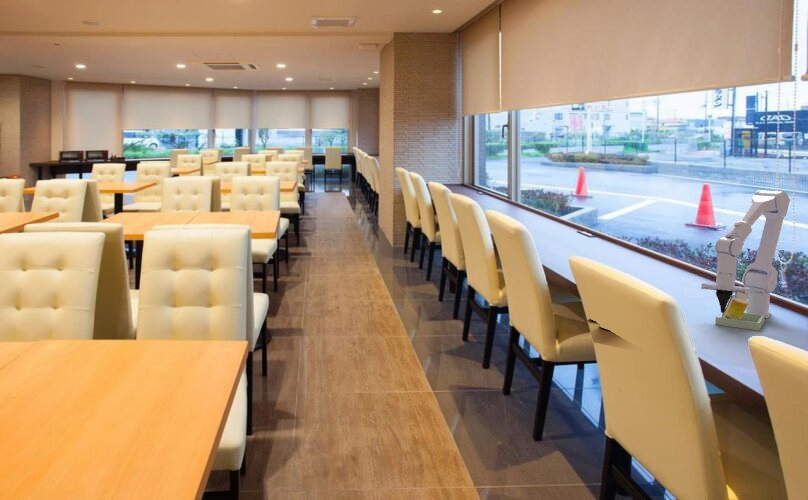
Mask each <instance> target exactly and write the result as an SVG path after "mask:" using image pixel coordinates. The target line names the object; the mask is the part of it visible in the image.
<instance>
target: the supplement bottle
mask: <svg viewBox="0 0 808 500" xmlns="http://www.w3.org/2000/svg"><path fill="white" fill-rule="evenodd" d="M748 296H749V295H747V294H744V293H741V292H739V291H736V293H734V294H732V296H731V297H730V299H729V301H728V303H727V306H726V309H725V311H724V314H723V317H722V318H730V319H737V320H741V318H742V316H743V314H744V312H745V310H746V307H747V305H748V300H747V298H748Z"/></svg>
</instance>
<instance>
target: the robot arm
mask: <svg viewBox="0 0 808 500" xmlns="http://www.w3.org/2000/svg"><path fill="white" fill-rule="evenodd" d="M790 201H791V199H790V197H789V195H788V193H787V192H786V191H784V190H783V191H782V190H781V191H779V190H778V191H775V190H762V189H758V190H757V191H755V193H754V195H753V196H752V197H751V205H750V207H749V208H748V210H747V211H746V213H745V215H744V216H743V218H742V219H741V220H738V221H736V222H735V223H734V224H733V226H731V228H730V229H729V230H728V232H727V233H726V235H725V236H724V237H720V238H719V239H717V241H716V243H715V245H714V250H715V252H716V259H717V265H716V266H717V267H716V268H717V269H716V279H715V283H711V282H702V283H701V287H700V289H701V290H709V291H711V290H712V291H715V295H716V298H717V299H718V303H719V307H720V313H721V314H722V313H724V311H725V309H726V307H727V305H728V302H729V300H730V298H731V296H732V295H734V294H735V293H736V291H739V292H741V293H744V294H747V295H749V296H748V298H747V300H748V305H747V307H746V309H745V313H752V314H760V315H765V318H764V319H769V317H771V314H772V312H771V311H769V310H770V309H769V308H770V301H771V293H772V292H774V290H775V289H776V288H777V286H778V274H779V272H778V270H777V269H776V268H775V267H774V266H773V262H774V257H775V253H776V249H777V246H778V242H779V239H780V238H779V237H780V234H781V230H782V228H783V227H782V226H783V223H784V219H785V217H786V216H787V213H788V210H789V205H790V203H791V202H790ZM762 215H763V216H764V218H765V222H764V226H763V229H762V232H761V233H762V234H761V237H760V241H759V245H758V249H757V252H756V253H757V254H756V257H755V261H754V262H752V263H750V264H748V265H747V266H746V270H745V271H744V273H743V275H742V278H741V279H742V280H741V281H742V285H743V286H739V285H736V275H737V273H736V272H737V263H738V256H739V255H740V254H741V253H742V250H743V246H744V244H745V243H744V242H745V241H746V240H747V238H748V237H749V235H750V234H751V233H752V229H753V228H752V226H753V225H754V224H755V222H757V220H758V219H759V218H760V217H761V216H762Z"/></svg>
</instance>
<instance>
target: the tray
mask: <svg viewBox="0 0 808 500" xmlns="http://www.w3.org/2000/svg"><path fill="white" fill-rule="evenodd" d="M723 314H724V313H721V316H715V321H714V322H715V325H716V326H725V327H731V328H738V329H744V330H751V331H752V330H753V331H759V332H760V330H761V329H762V326H763V325H764V323H765V319H766V318H765V315H760V314H752V313H745V312H744V314H743V316H742V318H741V320H737V319H730V318H724V317H723Z"/></svg>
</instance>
